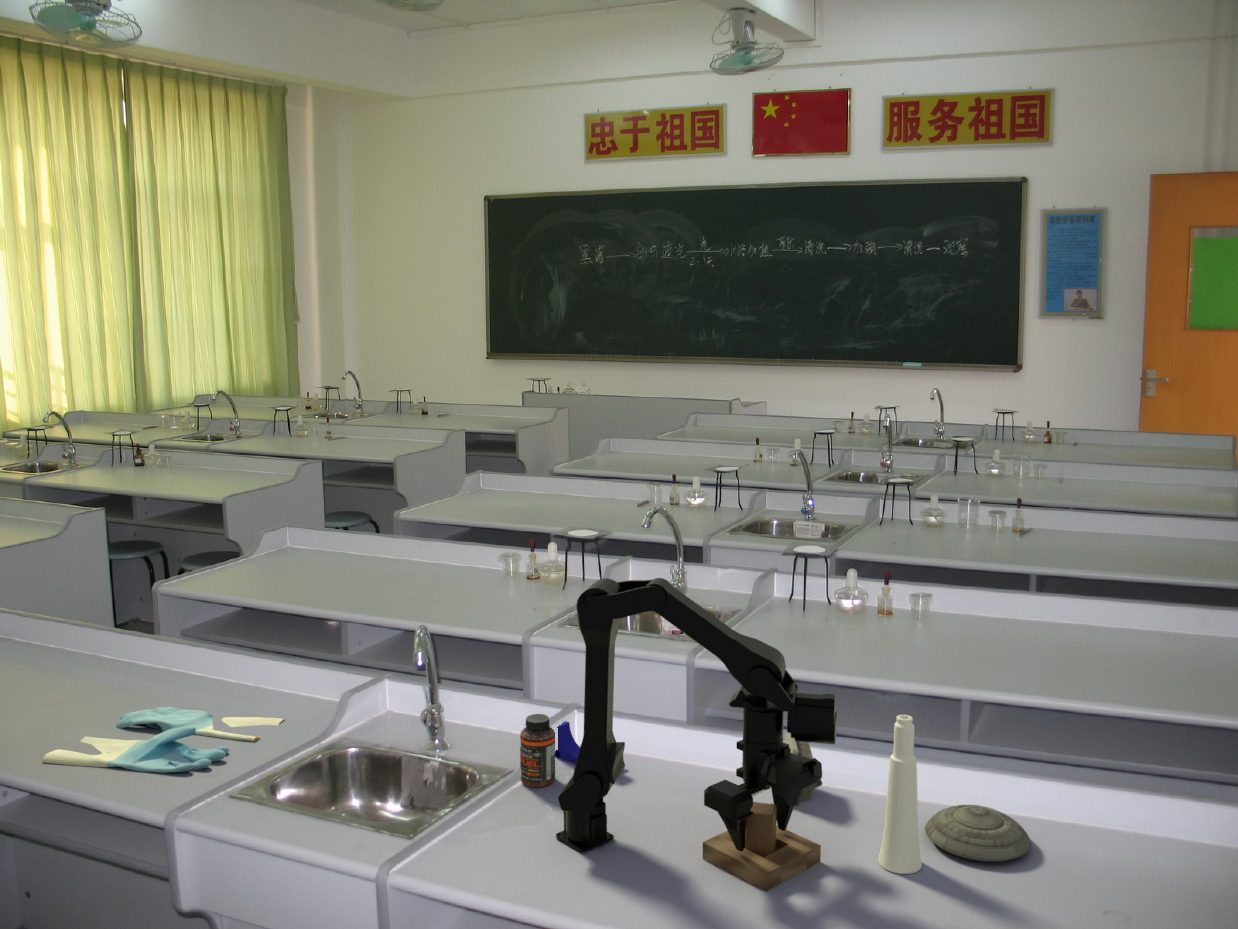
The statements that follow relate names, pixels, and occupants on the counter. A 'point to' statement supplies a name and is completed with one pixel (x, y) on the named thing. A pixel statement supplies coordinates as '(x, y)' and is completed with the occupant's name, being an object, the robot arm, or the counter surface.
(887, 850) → the cosmetic bottle
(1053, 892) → the counter surface
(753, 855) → the socket collar
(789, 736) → the electrical switch
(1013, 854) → the flying saucer
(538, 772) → the supplement bottle
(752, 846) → the wooden block
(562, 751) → the cable clip
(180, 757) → the rubber gloves
